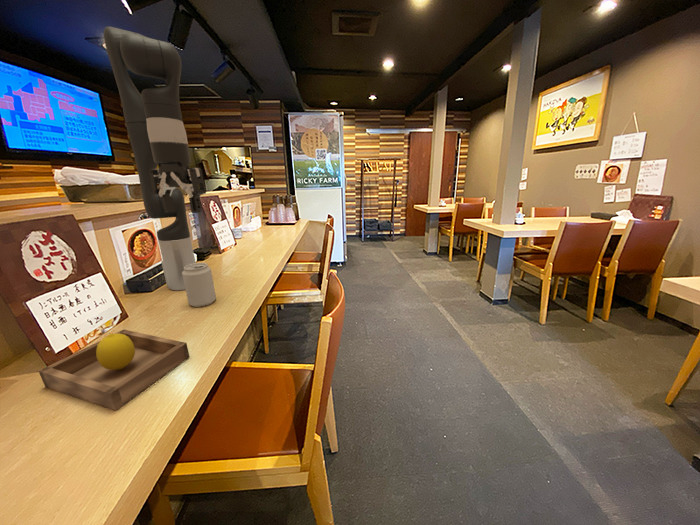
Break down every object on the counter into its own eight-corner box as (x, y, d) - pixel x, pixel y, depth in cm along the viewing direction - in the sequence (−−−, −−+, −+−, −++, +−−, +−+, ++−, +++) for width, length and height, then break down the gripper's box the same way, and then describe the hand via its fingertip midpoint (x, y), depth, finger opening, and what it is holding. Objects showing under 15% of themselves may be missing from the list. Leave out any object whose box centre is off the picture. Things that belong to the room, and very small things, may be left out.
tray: (45, 386, 49) (38, 371, 48) (127, 342, 62) (123, 329, 61) (115, 410, 44) (109, 393, 43) (189, 356, 57) (186, 342, 56)
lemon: (120, 359, 56) (109, 326, 54) (145, 360, 56) (136, 326, 53) (95, 378, 51) (81, 342, 48) (123, 379, 51) (111, 342, 48)
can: (205, 309, 78) (197, 270, 74) (182, 307, 79) (174, 268, 76) (221, 298, 85) (215, 262, 81) (201, 296, 86) (194, 260, 83)
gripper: (206, 142, 64) (217, 211, 69) (161, 145, 68) (174, 209, 73) (178, 138, 57) (193, 215, 62) (130, 141, 61) (147, 213, 66)
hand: (183, 212), depth 68 cm, fingers open, 8 cm apart
